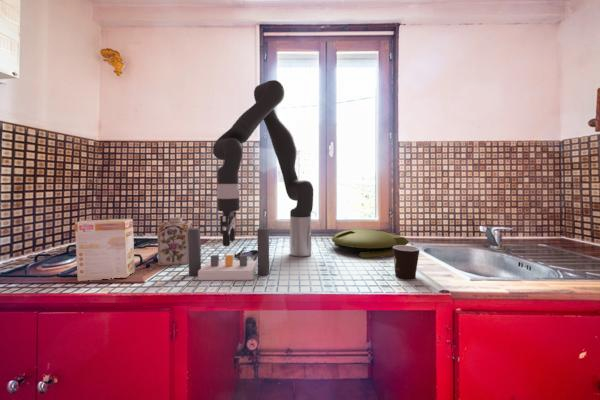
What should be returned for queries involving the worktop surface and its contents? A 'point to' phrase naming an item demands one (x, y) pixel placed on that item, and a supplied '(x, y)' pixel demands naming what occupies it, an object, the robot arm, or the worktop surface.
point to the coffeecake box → (104, 249)
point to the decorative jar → (173, 242)
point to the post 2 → (263, 251)
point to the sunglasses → (248, 254)
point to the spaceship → (369, 241)
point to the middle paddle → (229, 260)
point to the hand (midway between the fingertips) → (229, 243)
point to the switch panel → (228, 269)
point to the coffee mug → (405, 261)
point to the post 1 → (194, 251)
